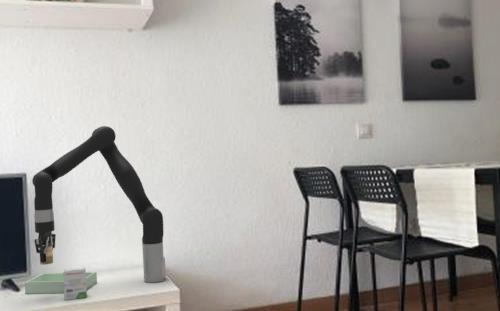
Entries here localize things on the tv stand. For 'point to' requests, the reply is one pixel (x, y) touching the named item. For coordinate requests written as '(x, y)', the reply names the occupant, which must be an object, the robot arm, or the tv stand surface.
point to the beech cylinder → (48, 255)
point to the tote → (54, 283)
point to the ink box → (75, 283)
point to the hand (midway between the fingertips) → (46, 260)
